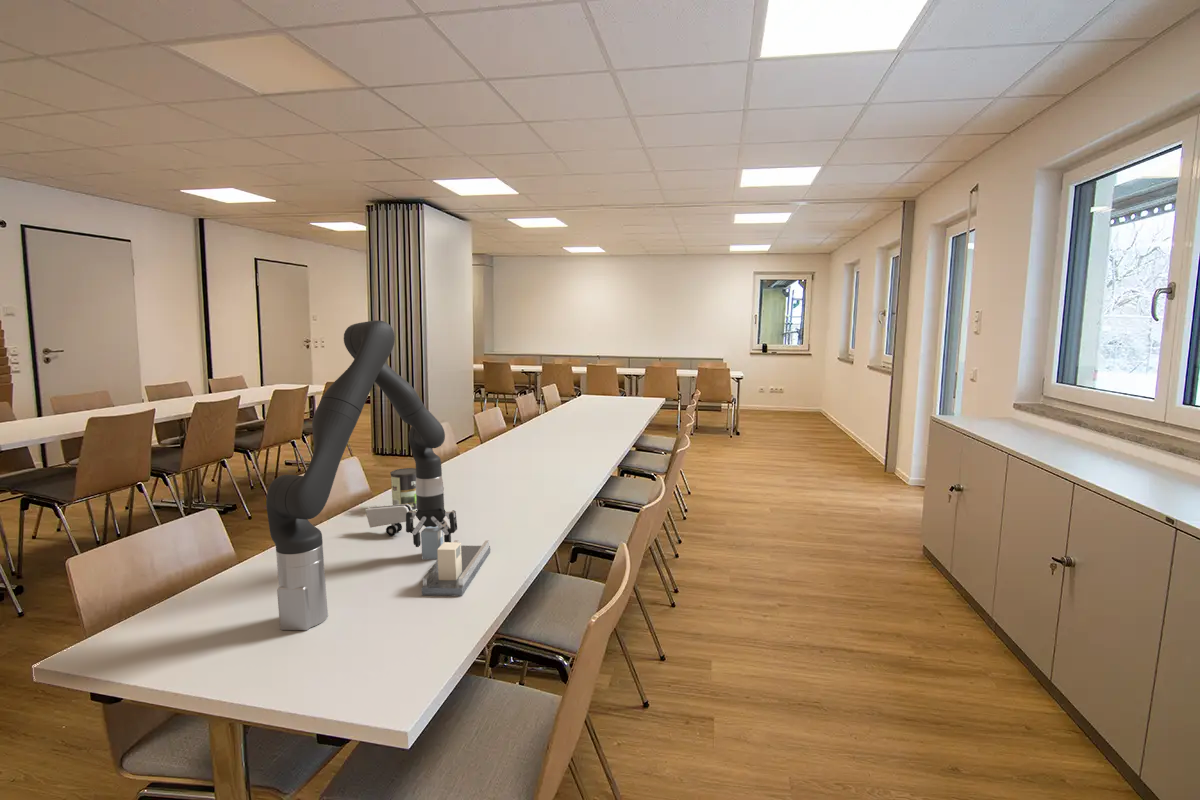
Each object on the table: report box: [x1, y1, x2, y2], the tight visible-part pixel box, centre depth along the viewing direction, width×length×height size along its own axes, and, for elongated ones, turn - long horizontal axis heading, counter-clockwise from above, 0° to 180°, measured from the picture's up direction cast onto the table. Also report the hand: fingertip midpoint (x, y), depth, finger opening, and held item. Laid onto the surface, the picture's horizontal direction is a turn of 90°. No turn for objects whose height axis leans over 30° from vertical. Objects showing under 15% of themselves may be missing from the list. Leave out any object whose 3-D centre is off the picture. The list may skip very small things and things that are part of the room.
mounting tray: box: [421, 539, 491, 597], centre depth 155 cm, size 28×10×4 cm, turn 177°
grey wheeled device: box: [364, 504, 417, 537], centre depth 185 cm, size 4×10×15 cm
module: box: [420, 526, 444, 560], centre depth 167 cm, size 5×5×8 cm
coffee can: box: [390, 467, 417, 512], centre depth 211 cm, size 10×10×14 cm
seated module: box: [437, 541, 462, 580], centre depth 148 cm, size 5×5×8 cm
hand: (432, 546), depth 167 cm, fingers open, 8 cm apart
